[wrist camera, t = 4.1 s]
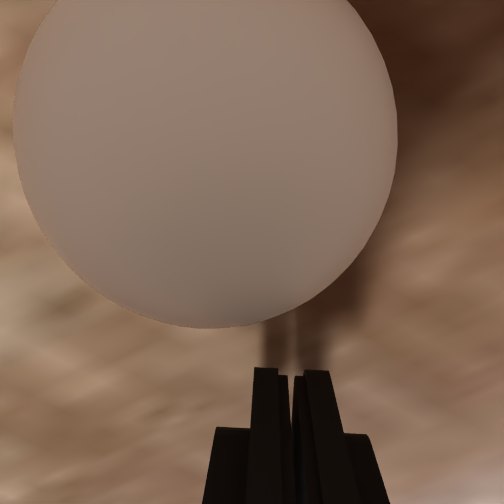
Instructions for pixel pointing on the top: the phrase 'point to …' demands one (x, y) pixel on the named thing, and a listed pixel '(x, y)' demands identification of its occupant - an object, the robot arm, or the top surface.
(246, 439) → the robot arm
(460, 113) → the top surface
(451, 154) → the top surface
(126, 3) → the cue ball
